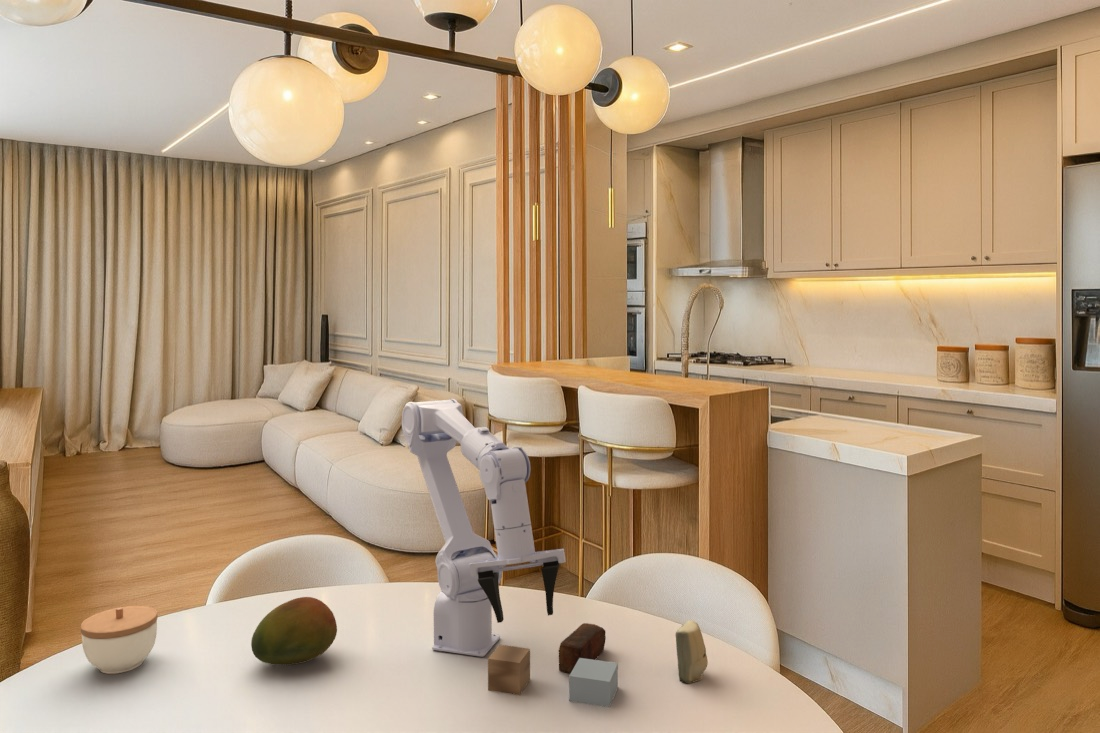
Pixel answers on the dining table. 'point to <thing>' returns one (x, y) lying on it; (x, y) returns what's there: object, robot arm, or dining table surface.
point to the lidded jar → (119, 638)
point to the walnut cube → (509, 669)
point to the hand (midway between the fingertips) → (525, 617)
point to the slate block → (593, 682)
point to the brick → (581, 646)
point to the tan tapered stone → (690, 652)
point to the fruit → (294, 632)
